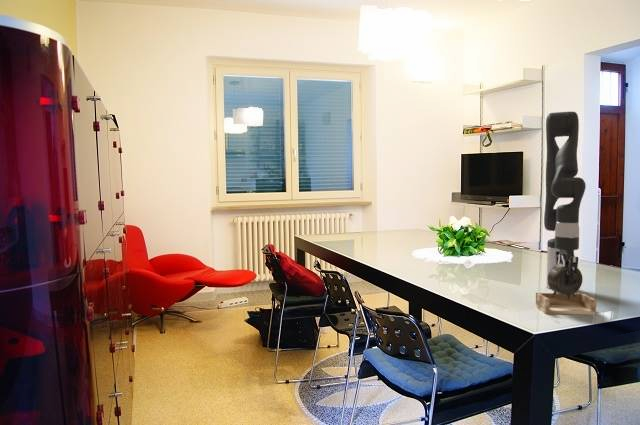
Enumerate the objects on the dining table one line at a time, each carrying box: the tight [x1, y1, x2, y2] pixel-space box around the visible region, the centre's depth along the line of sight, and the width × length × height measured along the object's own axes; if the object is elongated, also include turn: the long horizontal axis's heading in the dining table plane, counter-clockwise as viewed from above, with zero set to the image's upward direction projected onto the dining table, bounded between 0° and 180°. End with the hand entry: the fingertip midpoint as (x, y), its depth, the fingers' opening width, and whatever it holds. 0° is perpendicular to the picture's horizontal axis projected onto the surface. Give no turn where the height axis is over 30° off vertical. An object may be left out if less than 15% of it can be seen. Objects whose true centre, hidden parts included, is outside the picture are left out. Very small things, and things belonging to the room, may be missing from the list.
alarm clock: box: [548, 253, 584, 299], centre depth 175 cm, size 11×5×16 cm, turn 99°
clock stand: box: [535, 292, 597, 316], centre depth 176 cm, size 10×16×5 cm, turn 85°
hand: (565, 283), depth 175 cm, fingers closed on alarm clock, 5 cm apart
